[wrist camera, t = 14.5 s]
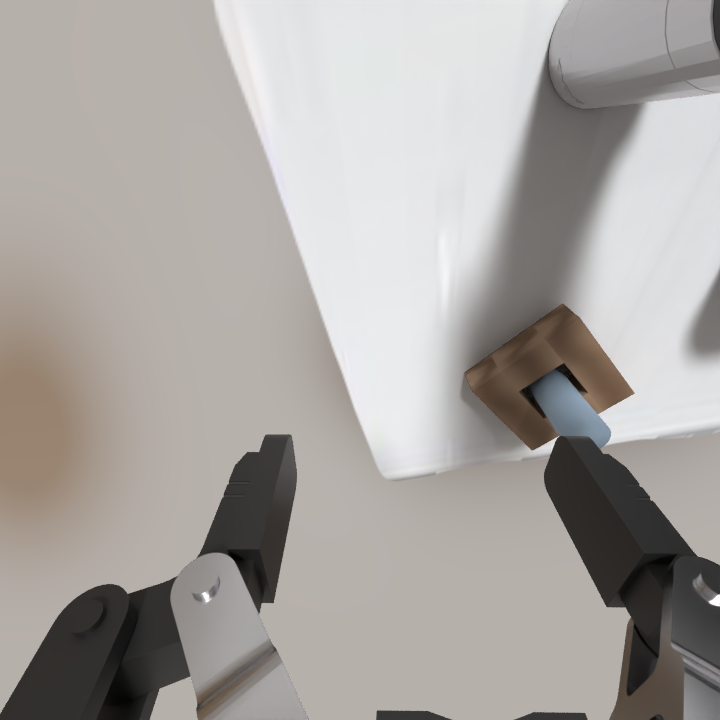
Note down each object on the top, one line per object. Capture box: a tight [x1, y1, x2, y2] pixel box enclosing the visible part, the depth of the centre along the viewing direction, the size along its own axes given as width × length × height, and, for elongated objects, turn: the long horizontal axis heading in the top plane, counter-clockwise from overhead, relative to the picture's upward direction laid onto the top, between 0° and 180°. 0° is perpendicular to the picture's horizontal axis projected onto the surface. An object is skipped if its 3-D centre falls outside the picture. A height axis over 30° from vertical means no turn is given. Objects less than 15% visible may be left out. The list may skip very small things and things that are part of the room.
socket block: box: [465, 304, 635, 451], centre depth 46 cm, size 14×14×4 cm
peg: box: [527, 367, 611, 449], centre depth 43 cm, size 4×4×12 cm
